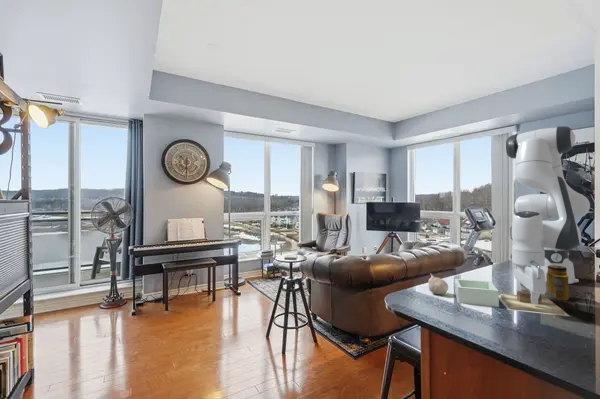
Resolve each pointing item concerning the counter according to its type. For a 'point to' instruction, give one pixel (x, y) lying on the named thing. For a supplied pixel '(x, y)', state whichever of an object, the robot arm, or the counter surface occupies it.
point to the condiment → (557, 282)
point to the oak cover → (523, 303)
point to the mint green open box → (476, 292)
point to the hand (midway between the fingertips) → (529, 299)
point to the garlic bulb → (437, 285)
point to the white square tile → (527, 311)
